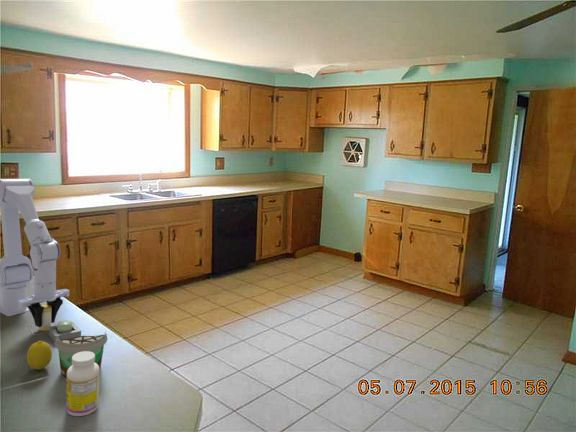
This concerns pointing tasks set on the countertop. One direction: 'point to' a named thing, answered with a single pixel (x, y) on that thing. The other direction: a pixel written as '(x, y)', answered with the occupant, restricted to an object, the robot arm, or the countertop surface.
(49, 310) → the two-tone rounded cylinder
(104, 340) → the food container
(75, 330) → the button housing
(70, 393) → the supplement bottle
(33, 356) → the lemon
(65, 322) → the button
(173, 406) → the countertop surface
